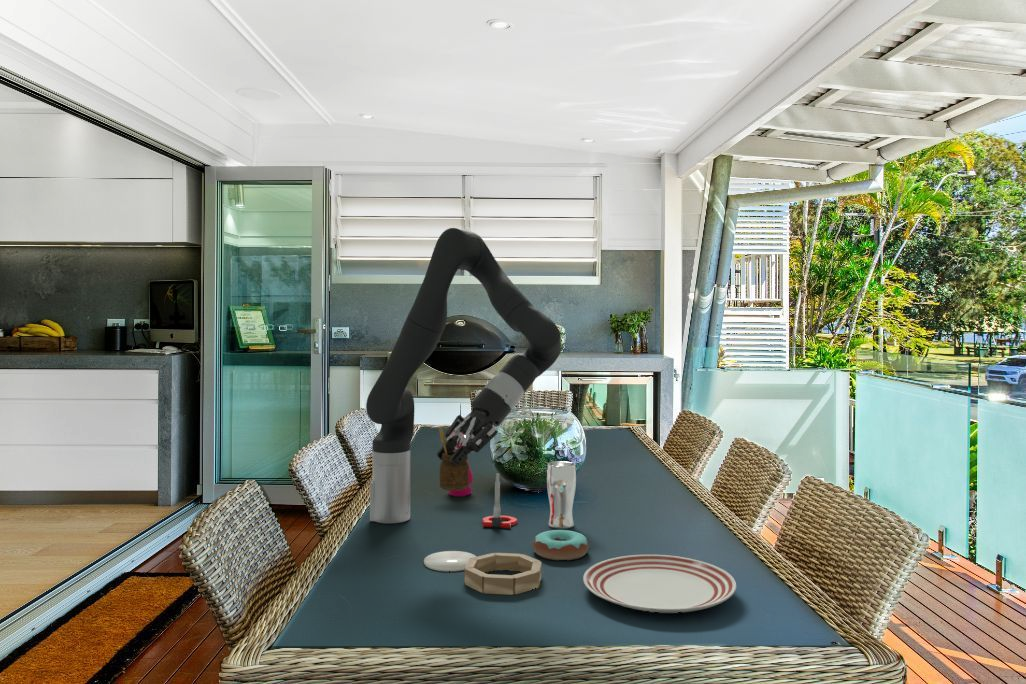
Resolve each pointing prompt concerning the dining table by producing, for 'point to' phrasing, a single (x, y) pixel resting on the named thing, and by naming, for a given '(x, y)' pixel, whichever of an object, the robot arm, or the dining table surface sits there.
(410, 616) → the dining table surface
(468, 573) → the oak ring
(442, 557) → the coaster
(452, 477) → the utensil holder
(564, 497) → the beer glass
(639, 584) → the dinner plate
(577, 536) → the donut
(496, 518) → the tow hook
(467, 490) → the pepper mill
